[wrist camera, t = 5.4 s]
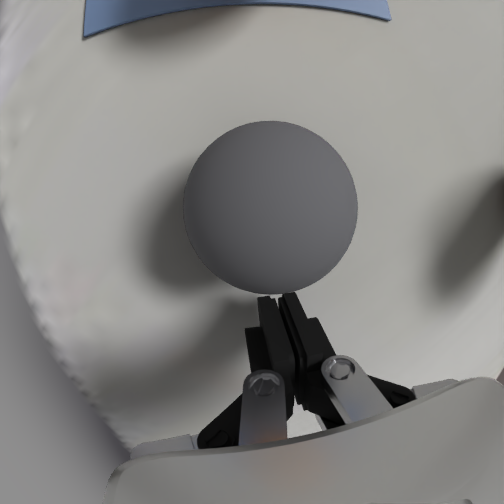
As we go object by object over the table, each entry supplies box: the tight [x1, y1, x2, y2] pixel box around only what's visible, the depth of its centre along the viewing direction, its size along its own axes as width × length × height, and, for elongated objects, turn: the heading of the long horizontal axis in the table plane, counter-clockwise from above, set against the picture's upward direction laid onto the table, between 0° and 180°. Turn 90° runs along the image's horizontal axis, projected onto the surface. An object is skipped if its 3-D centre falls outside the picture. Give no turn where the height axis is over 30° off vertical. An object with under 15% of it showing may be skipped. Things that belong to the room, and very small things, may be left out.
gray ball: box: [183, 121, 358, 295], centre depth 9 cm, size 6×6×6 cm
